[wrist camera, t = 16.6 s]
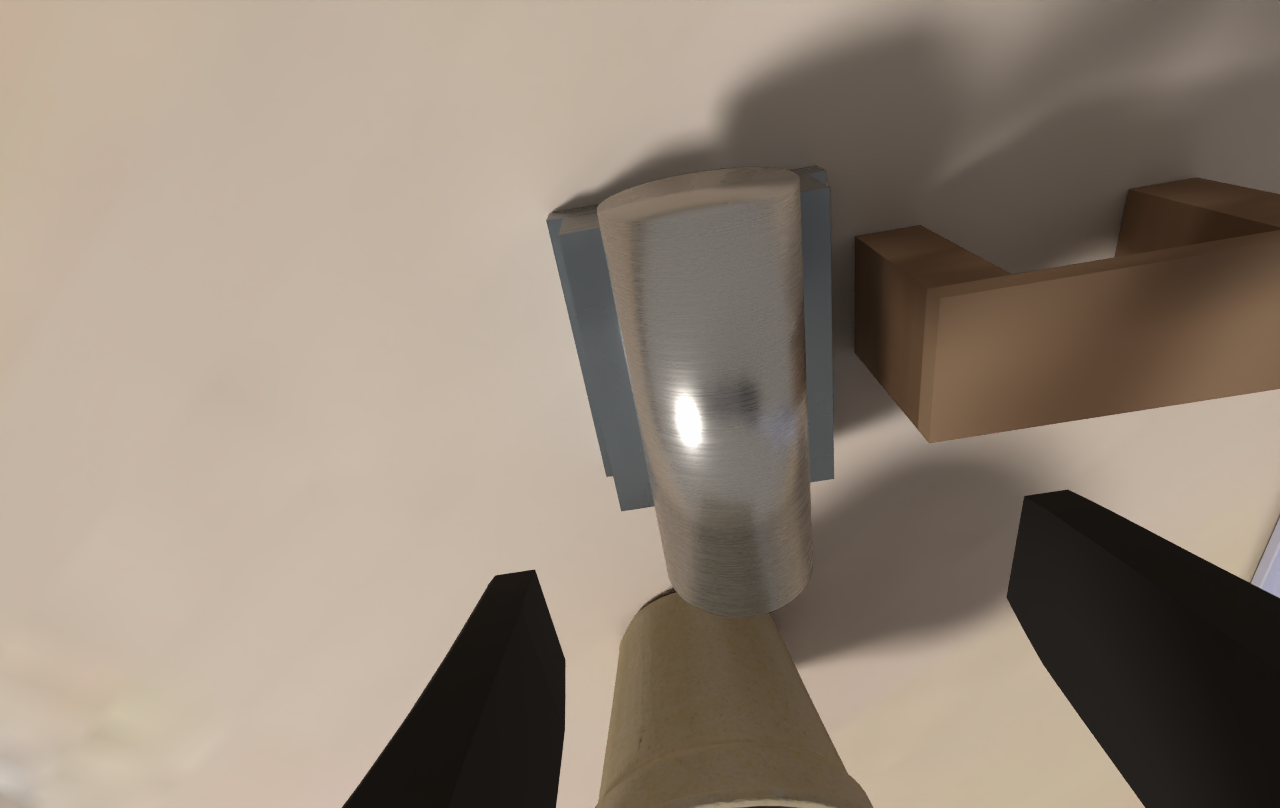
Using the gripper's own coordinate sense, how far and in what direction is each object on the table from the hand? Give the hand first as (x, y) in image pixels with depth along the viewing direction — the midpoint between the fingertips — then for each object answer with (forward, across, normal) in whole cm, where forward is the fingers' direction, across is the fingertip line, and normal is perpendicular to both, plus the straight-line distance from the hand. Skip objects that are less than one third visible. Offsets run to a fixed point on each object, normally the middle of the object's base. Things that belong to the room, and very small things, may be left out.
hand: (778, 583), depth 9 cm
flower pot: (+10, +2, +13) cm, 17 cm away
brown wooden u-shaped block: (+10, -9, 0) cm, 13 cm away
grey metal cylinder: (+6, 0, 0) cm, 6 cm away
